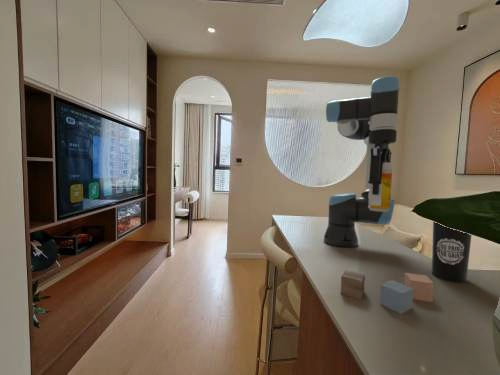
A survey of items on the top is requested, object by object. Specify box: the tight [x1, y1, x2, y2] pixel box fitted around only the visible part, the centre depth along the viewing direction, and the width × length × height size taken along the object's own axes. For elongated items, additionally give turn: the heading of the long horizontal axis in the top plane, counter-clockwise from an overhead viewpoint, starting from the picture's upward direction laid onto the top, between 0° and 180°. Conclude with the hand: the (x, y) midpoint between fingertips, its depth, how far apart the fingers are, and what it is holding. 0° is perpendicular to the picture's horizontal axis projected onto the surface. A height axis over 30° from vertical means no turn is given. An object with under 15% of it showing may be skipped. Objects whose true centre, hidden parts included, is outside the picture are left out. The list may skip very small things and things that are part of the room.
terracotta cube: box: [403, 272, 435, 303], centre depth 63 cm, size 5×5×5 cm
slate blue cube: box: [379, 279, 414, 315], centre depth 58 cm, size 5×5×5 cm
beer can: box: [368, 162, 393, 212], centre depth 74 cm, size 6×6×15 cm
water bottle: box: [431, 221, 472, 284], centre depth 75 cm, size 10×10×23 cm
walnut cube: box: [340, 269, 366, 300], centre depth 64 cm, size 5×5×5 cm
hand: (378, 204), depth 74 cm, fingers closed on beer can, 6 cm apart
